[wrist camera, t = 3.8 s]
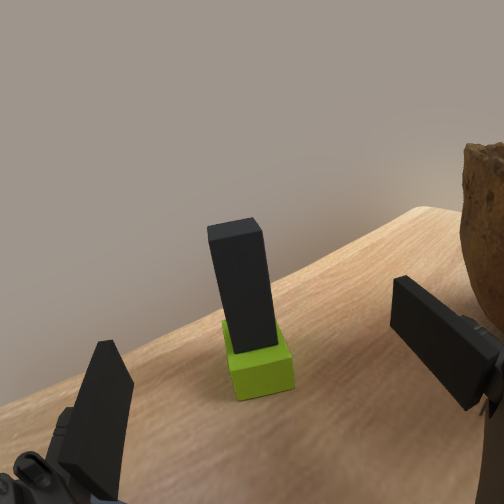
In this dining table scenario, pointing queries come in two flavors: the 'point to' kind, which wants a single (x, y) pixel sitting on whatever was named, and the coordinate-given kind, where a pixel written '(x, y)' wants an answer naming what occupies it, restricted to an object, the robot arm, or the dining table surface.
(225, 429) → the dining table surface
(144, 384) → the dining table surface
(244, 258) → the two-tone block stack
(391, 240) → the dining table surface
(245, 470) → the dining table surface
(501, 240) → the bowl
